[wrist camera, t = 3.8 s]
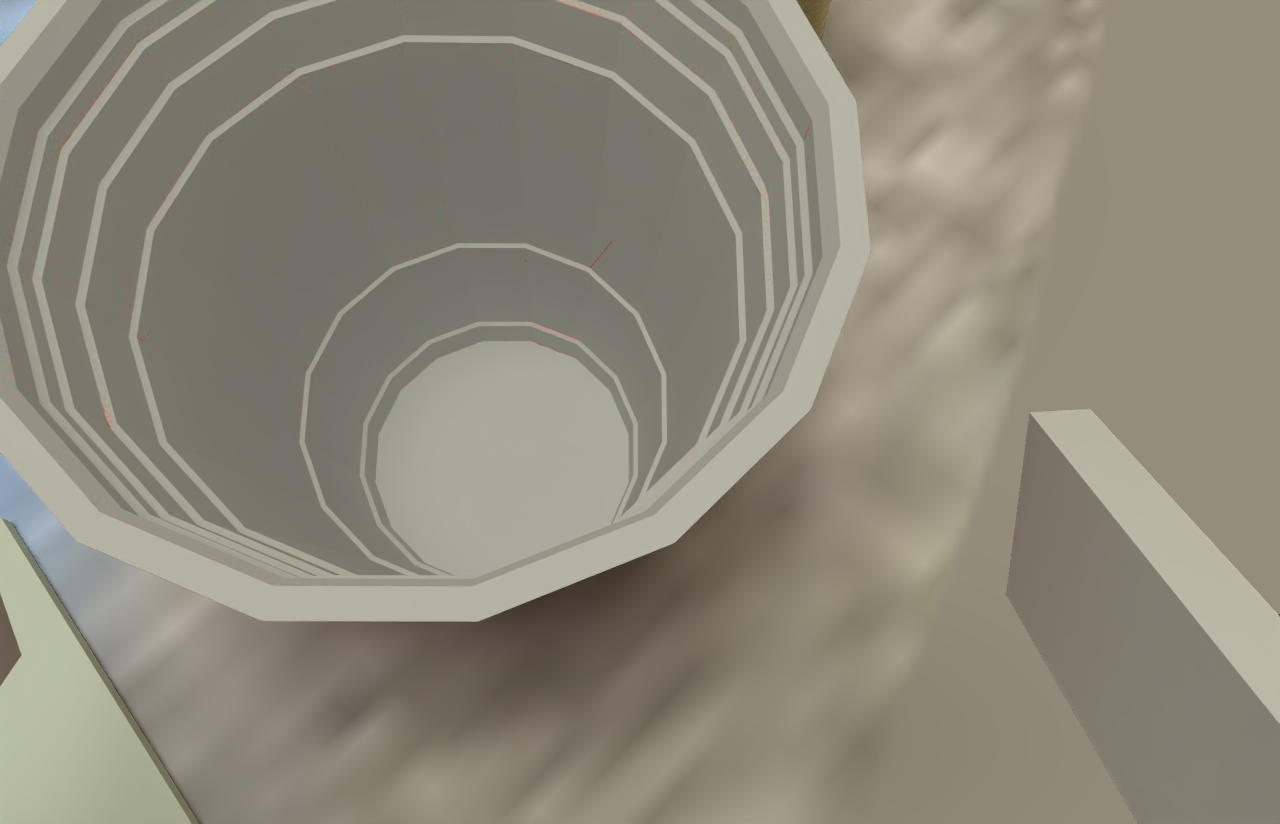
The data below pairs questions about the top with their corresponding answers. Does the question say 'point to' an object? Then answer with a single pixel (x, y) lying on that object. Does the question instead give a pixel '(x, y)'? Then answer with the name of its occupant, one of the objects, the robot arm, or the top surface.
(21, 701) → the mat
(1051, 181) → the top surface
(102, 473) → the plastic cup
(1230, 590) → the robot arm
